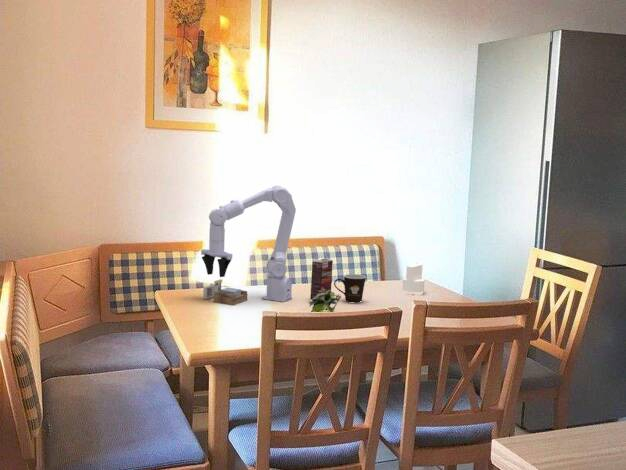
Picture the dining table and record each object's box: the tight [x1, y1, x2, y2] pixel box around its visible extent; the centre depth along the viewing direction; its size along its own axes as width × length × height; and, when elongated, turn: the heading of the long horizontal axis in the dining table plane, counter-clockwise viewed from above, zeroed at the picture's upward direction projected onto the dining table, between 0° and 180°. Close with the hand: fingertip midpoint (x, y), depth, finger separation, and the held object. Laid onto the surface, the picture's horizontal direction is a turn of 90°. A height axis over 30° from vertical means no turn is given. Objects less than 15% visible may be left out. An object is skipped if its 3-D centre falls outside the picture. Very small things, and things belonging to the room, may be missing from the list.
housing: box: [212, 289, 249, 306], centre depth 263 cm, size 9×10×4 cm
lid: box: [221, 287, 242, 296], centre depth 263 cm, size 6×5×2 cm
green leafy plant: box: [308, 289, 342, 313], centre depth 248 cm, size 11×11×12 cm
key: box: [202, 278, 223, 300], centre depth 268 cm, size 11×2×6 cm, turn 155°
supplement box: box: [309, 258, 334, 301], centre depth 270 cm, size 9×5×16 cm, turn 148°
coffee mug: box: [333, 273, 366, 303], centre depth 271 cm, size 12×9×10 cm
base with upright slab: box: [402, 263, 425, 292], centre depth 290 cm, size 9×9×12 cm
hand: (216, 275), depth 263 cm, fingers open, 6 cm apart
